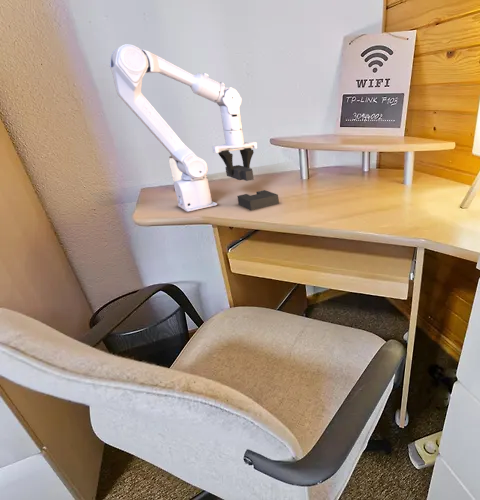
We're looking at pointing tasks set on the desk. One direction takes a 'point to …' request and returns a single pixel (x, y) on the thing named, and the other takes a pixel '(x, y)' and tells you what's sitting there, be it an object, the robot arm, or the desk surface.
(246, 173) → the tab pad
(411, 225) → the desk surface
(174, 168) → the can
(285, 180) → the desk surface
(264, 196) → the notch pad
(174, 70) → the robot arm
